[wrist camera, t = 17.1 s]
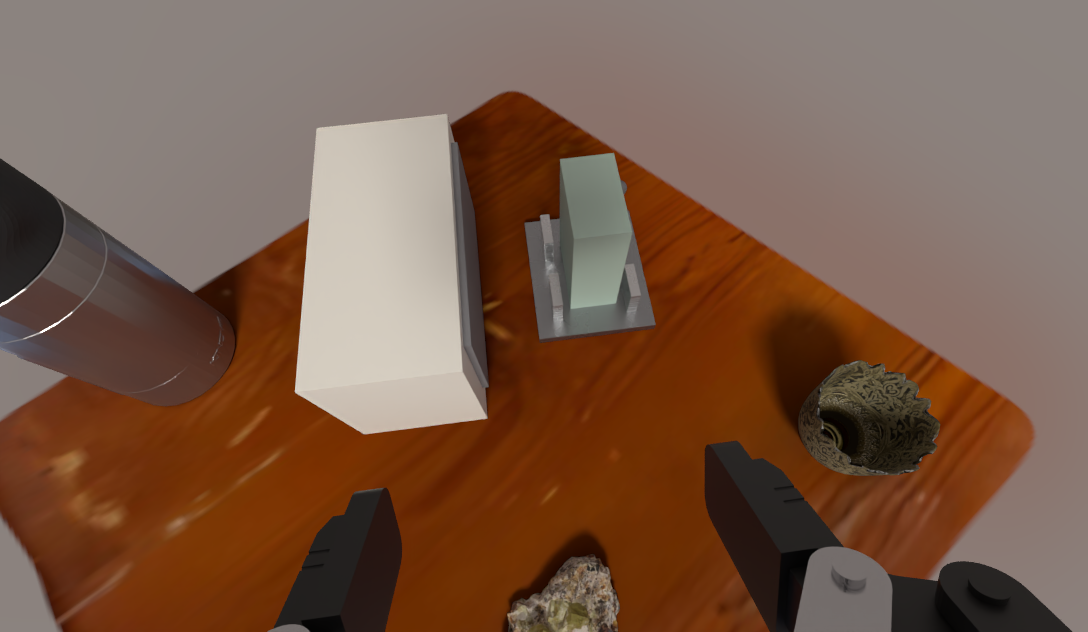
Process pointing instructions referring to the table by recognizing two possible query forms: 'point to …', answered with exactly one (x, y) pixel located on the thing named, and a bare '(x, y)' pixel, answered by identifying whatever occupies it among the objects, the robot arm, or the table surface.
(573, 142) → the table surface
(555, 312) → the grey holder base
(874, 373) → the cup
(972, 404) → the table surface
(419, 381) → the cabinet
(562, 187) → the pale green rectangular box
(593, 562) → the mineral rock
